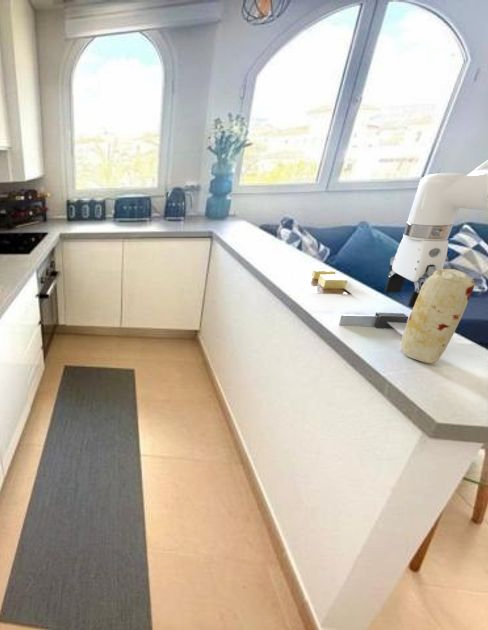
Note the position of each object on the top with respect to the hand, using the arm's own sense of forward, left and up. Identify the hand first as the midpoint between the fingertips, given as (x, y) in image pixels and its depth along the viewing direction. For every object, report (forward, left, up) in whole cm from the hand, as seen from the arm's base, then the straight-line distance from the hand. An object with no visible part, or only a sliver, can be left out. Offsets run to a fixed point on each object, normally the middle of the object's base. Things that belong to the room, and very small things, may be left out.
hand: (403, 299), depth 86 cm
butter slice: (+5, -33, -7) cm, 34 cm away
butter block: (+5, -26, -7) cm, 27 cm away
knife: (+4, 0, -8) cm, 9 cm away
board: (+7, -27, -8) cm, 29 cm away
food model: (+2, +14, -8) cm, 16 cm away
